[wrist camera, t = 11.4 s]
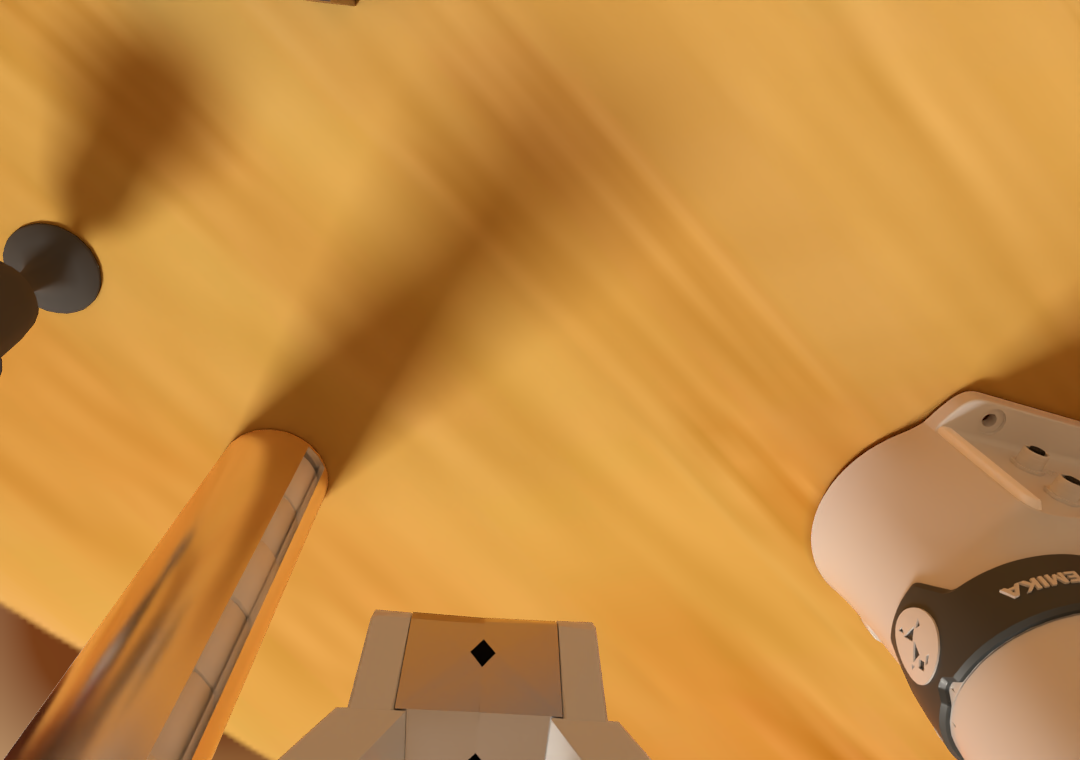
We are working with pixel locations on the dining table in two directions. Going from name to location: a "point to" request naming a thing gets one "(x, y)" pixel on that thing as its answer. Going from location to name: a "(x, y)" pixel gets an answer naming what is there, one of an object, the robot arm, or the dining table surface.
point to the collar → (337, 2)
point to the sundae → (43, 279)
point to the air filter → (188, 615)
